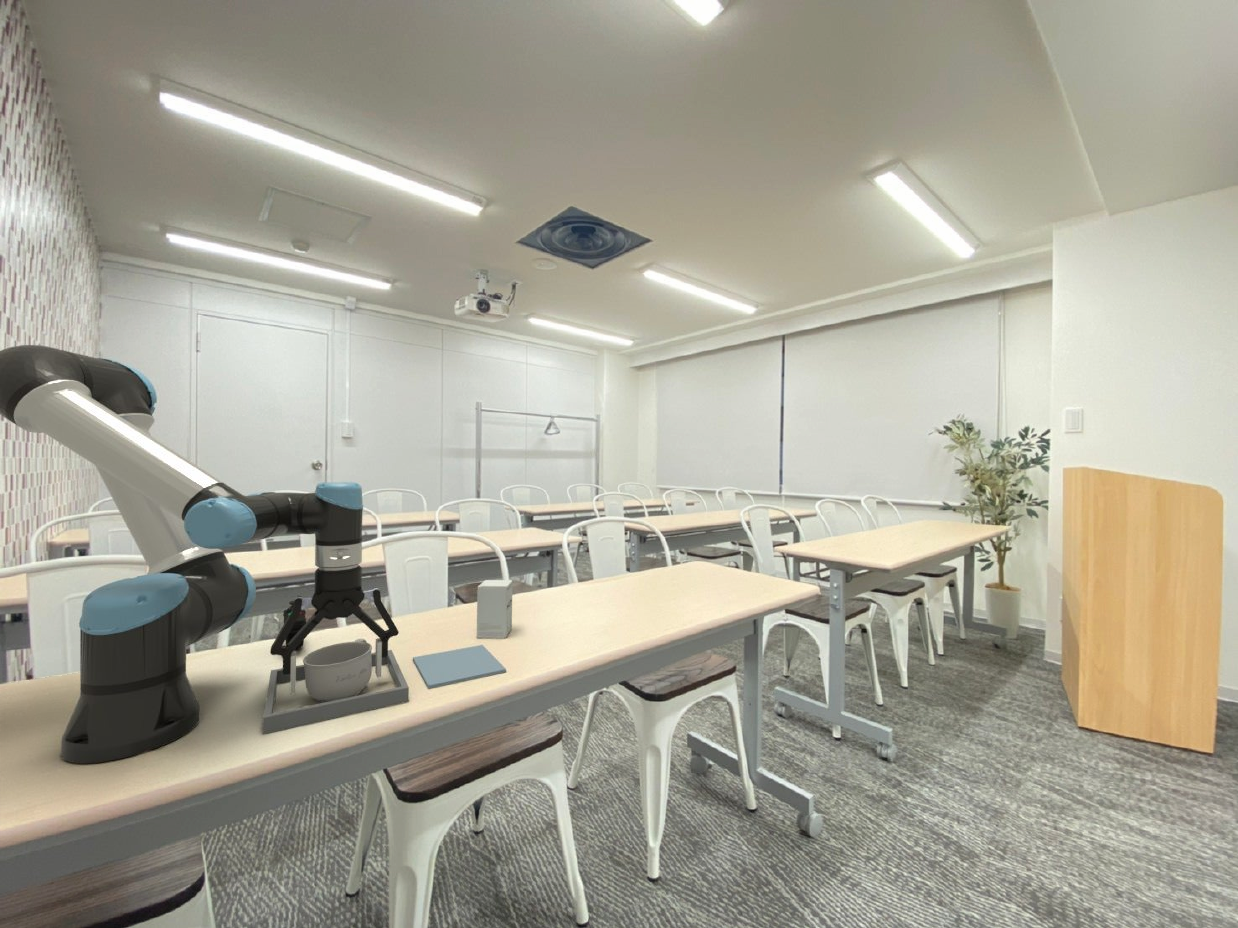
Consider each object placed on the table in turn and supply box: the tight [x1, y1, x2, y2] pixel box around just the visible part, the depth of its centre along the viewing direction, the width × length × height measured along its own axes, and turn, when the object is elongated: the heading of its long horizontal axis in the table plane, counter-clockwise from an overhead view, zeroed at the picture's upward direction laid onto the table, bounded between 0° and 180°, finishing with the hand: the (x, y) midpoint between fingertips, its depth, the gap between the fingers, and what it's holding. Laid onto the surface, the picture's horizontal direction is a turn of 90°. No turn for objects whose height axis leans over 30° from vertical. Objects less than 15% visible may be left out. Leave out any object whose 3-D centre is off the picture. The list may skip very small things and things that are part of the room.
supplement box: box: [476, 579, 513, 639], centre depth 125 cm, size 7×7×13 cm
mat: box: [412, 644, 507, 690], centre depth 104 cm, size 15×16×1 cm
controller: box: [283, 600, 307, 650], centre depth 113 cm, size 4×12×10 cm, turn 36°
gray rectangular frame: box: [262, 649, 410, 735], centre depth 92 cm, size 21×21×2 cm
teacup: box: [302, 638, 373, 703], centre depth 92 cm, size 14×11×8 cm
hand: (337, 682), depth 92 cm, fingers open, 13 cm apart
